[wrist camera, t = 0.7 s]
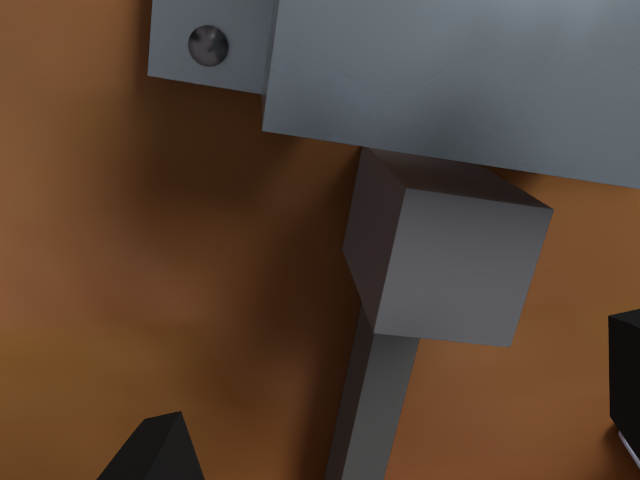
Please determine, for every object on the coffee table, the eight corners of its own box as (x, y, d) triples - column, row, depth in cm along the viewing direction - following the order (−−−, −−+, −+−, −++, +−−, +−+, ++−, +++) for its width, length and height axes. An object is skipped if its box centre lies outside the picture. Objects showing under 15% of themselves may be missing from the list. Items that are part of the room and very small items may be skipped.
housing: (660, 156, 18) (885, 226, 12) (154, 73, 16) (79, 103, 9) (722, -12, 17) (1024, -40, 10) (168, -133, 14) (90, -272, 8)
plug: (362, 571, 23) (391, 721, 18) (280, 568, 23) (285, 721, 18) (469, 158, 18) (553, 209, 13) (363, 141, 17) (406, 188, 12)
